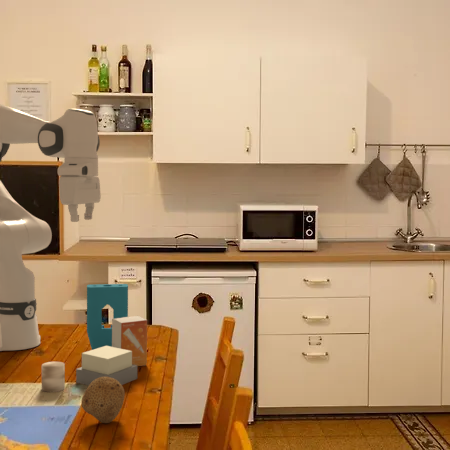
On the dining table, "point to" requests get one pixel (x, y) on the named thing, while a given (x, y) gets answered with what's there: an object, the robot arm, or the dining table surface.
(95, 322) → the block
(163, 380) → the dining table surface
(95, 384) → the natural sponge
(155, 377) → the dining table surface
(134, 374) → the tower base
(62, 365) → the beige rounded cylinder
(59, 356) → the dining table surface
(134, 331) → the small box
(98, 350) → the tower top
